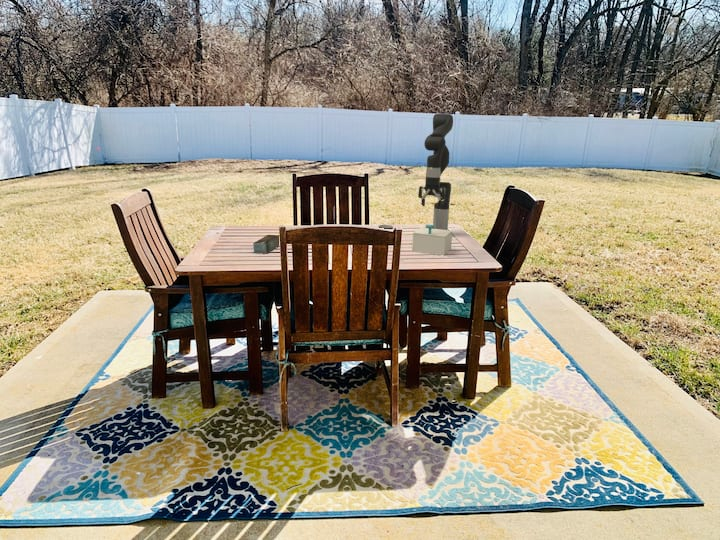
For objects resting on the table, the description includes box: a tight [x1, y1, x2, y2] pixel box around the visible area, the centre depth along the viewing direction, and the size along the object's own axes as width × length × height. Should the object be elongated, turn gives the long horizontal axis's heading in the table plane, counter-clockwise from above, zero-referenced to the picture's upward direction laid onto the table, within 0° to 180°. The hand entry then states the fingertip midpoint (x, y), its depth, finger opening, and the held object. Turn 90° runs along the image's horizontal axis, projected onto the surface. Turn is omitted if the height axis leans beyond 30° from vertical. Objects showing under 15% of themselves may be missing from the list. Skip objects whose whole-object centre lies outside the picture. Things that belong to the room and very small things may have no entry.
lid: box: [412, 224, 453, 237], centre depth 277 cm, size 15×18×6 cm
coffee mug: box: [377, 224, 394, 230], centre depth 292 cm, size 12×9×10 cm
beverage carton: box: [253, 234, 280, 255], centre depth 277 cm, size 8×19×7 cm, turn 166°
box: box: [411, 231, 453, 256], centre depth 279 cm, size 15×18×10 cm
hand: (431, 206), depth 268 cm, fingers open, 8 cm apart
